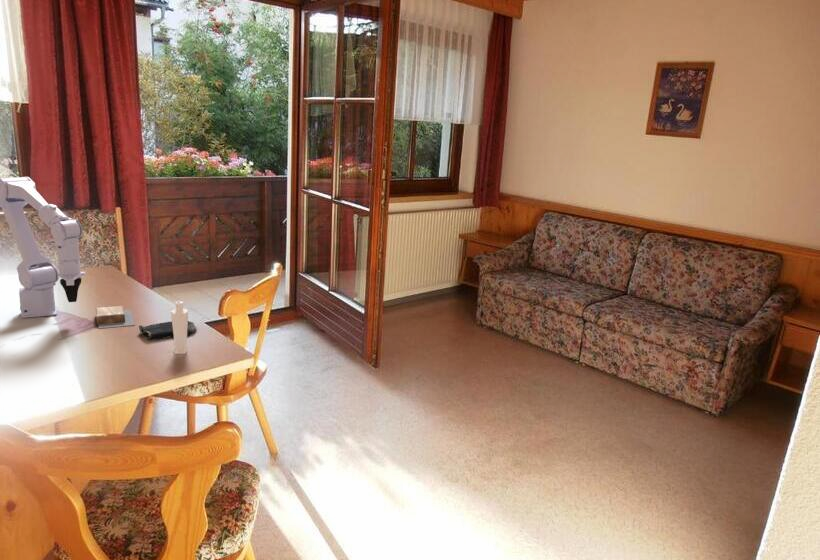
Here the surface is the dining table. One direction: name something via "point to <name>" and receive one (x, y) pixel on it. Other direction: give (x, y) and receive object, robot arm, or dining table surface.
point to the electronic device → (163, 330)
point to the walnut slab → (110, 315)
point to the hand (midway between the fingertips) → (72, 301)
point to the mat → (128, 322)
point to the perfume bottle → (180, 328)
